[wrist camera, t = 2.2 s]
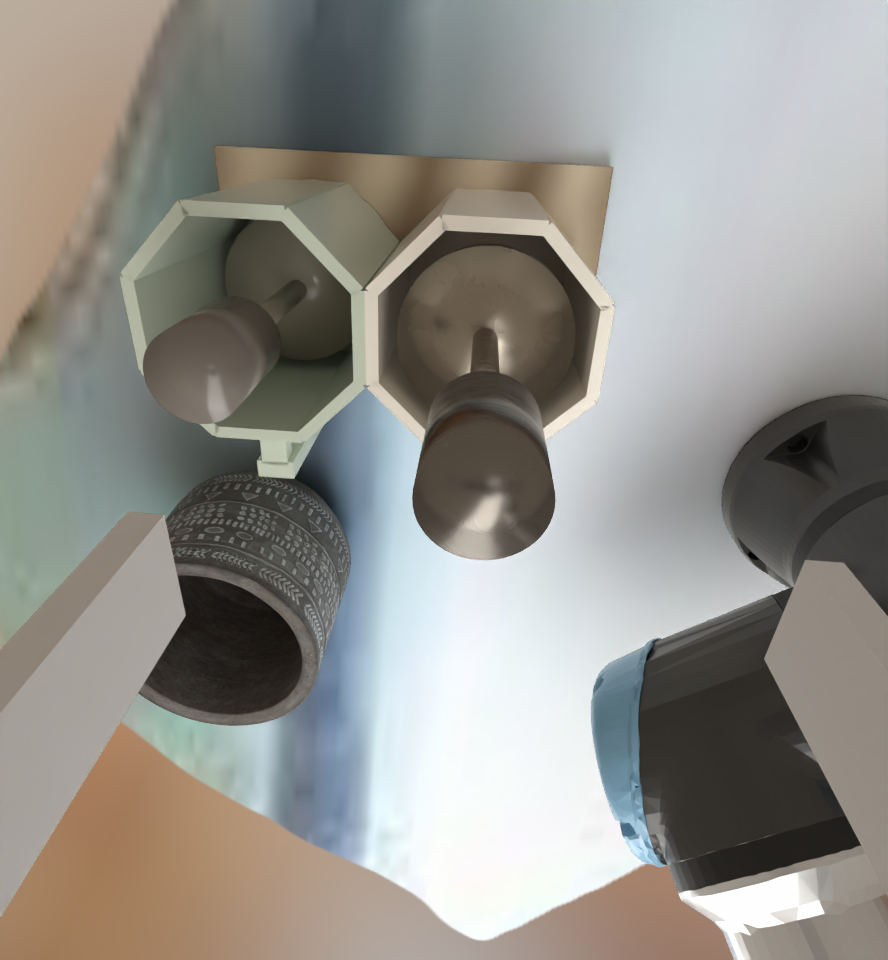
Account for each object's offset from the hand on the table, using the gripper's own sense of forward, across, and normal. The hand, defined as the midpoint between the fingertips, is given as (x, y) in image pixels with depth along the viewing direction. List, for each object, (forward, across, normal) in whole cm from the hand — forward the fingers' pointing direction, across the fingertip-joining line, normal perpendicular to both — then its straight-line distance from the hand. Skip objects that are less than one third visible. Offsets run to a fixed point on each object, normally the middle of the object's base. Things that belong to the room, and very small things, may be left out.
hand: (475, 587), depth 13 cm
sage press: (+31, +11, +2) cm, 33 cm away
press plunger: (+19, 0, 0) cm, 19 cm away
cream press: (+31, 0, +2) cm, 31 cm away
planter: (+33, +16, +21) cm, 42 cm away
